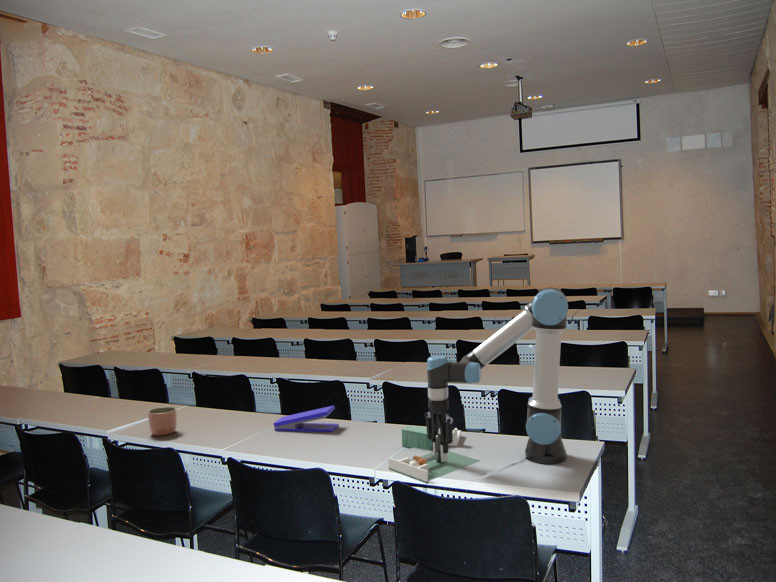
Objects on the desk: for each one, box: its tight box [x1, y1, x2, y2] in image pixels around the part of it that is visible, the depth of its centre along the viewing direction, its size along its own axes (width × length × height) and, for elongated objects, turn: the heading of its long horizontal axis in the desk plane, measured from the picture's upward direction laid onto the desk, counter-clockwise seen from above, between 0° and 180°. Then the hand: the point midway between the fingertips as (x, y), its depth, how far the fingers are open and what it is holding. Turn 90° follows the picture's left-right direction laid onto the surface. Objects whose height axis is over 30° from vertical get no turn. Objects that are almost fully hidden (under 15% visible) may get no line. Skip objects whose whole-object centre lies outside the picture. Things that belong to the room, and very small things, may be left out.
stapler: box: [273, 405, 339, 433], centre depth 289 cm, size 12×28×10 cm, turn 78°
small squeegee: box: [412, 433, 442, 466], centre depth 231 cm, size 6×13×10 cm, turn 131°
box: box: [401, 425, 433, 451], centre depth 255 cm, size 7×14×8 cm, turn 53°
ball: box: [409, 460, 420, 467], centre depth 225 cm, size 4×4×4 cm
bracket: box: [438, 427, 462, 447], centre depth 259 cm, size 13×7×8 cm, turn 166°
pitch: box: [387, 450, 481, 484], centre depth 232 cm, size 20×28×4 cm
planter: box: [147, 406, 178, 437], centre depth 290 cm, size 12×12×11 cm
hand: (440, 459), depth 234 cm, fingers closed on small squeegee, 3 cm apart
